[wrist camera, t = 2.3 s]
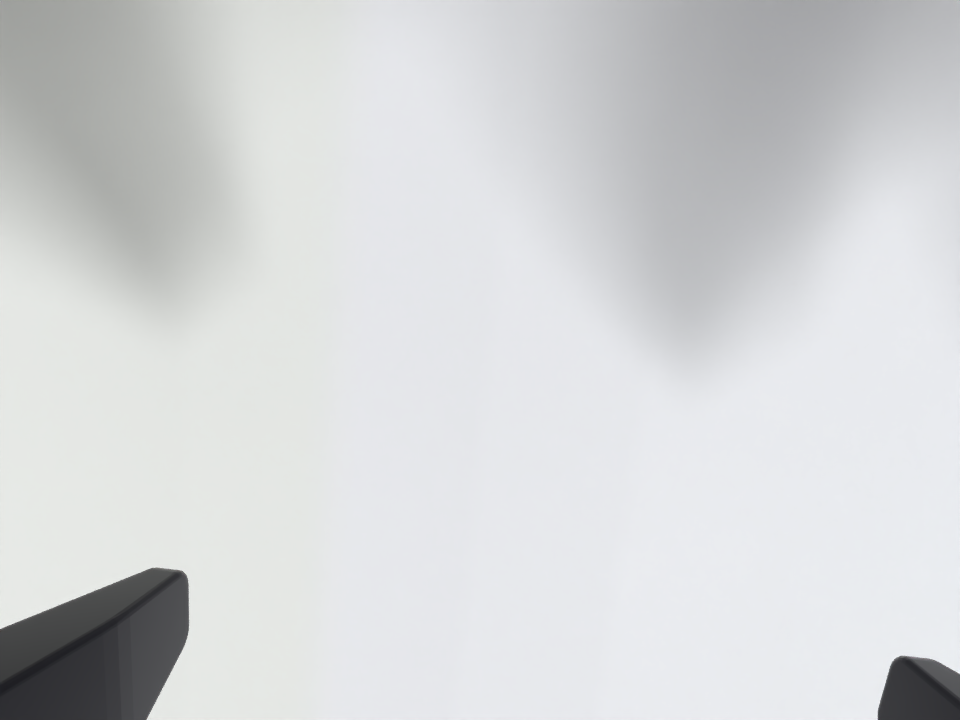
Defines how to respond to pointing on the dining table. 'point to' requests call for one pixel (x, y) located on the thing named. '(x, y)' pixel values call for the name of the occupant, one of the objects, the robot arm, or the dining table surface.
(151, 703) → the robot arm
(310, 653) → the dining table surface
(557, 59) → the dining table surface
